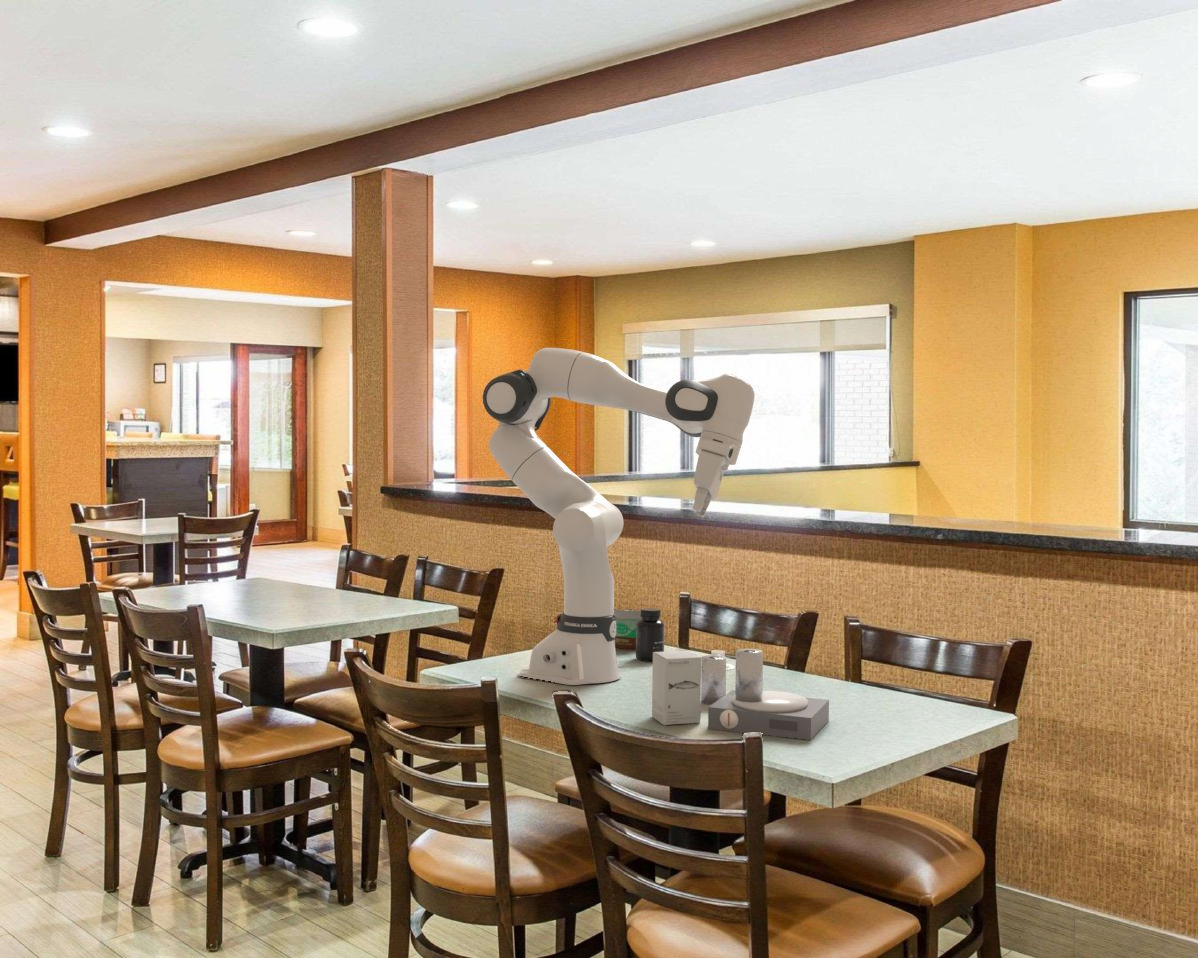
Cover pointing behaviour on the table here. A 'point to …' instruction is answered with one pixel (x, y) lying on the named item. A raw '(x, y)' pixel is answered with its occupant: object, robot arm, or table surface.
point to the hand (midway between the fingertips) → (698, 513)
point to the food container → (626, 629)
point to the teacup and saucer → (722, 653)
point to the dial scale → (770, 715)
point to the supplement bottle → (649, 634)
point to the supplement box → (676, 687)
